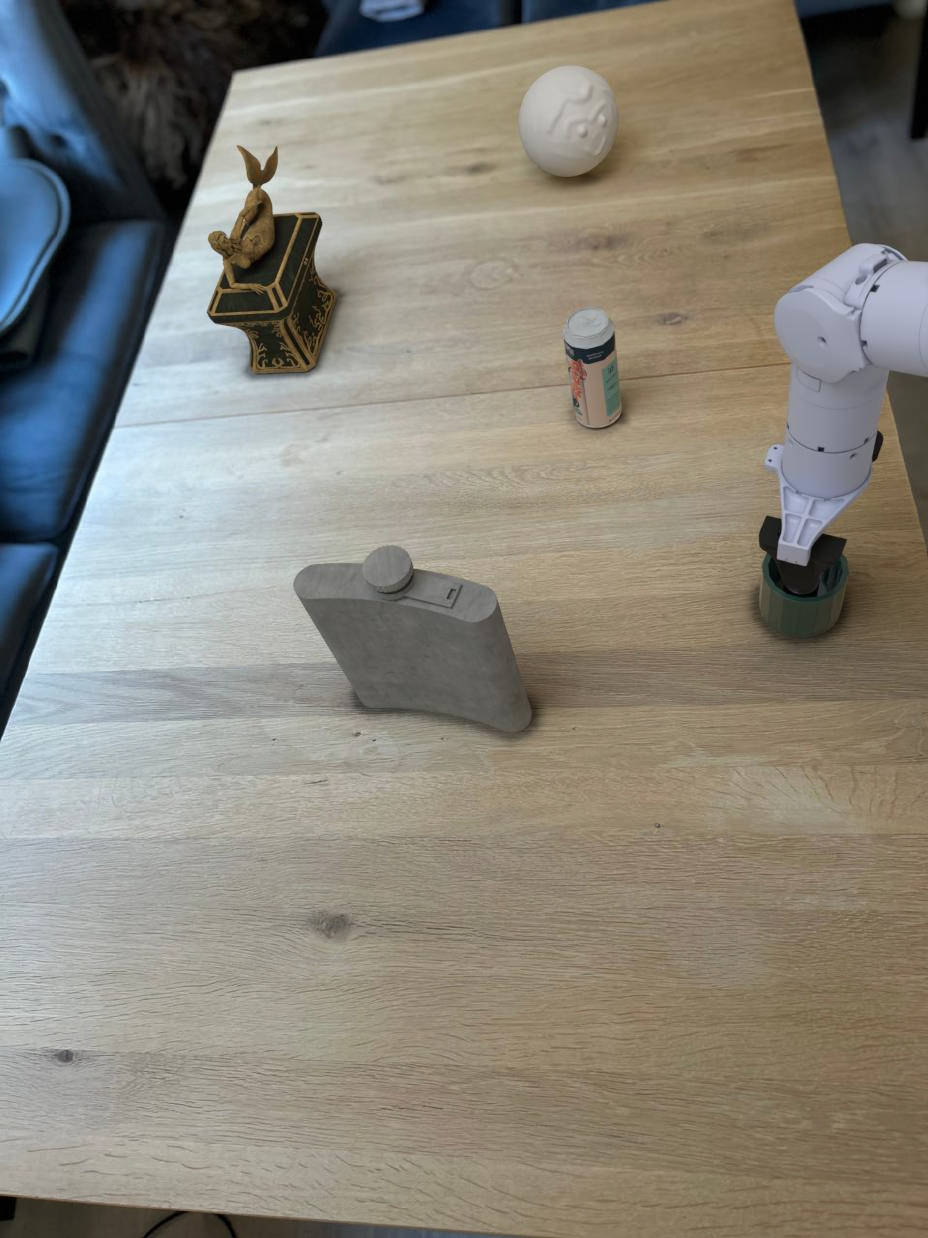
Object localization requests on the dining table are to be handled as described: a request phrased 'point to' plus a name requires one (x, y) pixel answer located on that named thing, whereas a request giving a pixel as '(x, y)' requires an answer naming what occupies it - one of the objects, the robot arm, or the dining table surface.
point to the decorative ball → (568, 121)
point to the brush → (802, 591)
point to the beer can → (593, 367)
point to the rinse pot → (802, 601)
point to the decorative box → (272, 280)
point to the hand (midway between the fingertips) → (813, 545)
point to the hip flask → (417, 638)
